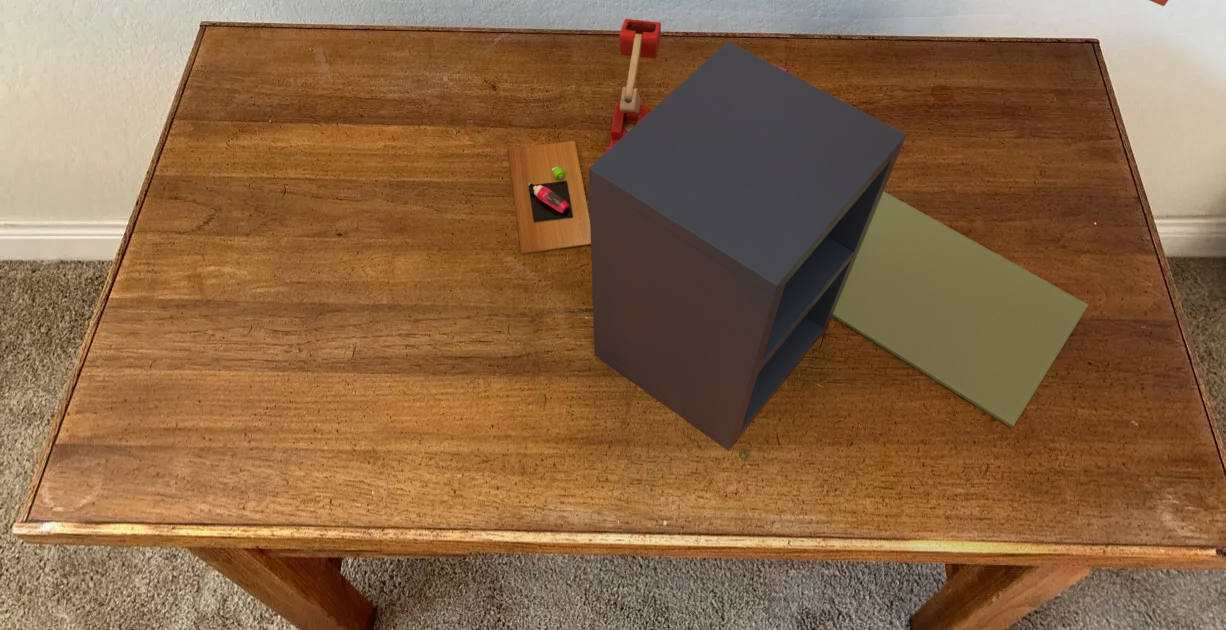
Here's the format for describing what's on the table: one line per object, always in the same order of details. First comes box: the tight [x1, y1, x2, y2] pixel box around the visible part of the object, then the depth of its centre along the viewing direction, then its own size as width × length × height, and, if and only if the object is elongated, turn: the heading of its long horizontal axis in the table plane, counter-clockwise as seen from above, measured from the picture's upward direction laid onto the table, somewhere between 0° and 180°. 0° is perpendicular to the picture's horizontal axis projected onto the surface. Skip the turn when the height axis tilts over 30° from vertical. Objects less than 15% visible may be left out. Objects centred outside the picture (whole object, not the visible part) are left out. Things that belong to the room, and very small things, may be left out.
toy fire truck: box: [604, 18, 662, 154], centre depth 76 cm, size 3×14×10 cm, turn 171°
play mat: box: [832, 190, 1089, 429], centre depth 71 cm, size 20×14×1 cm
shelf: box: [588, 40, 907, 452], centre depth 60 cm, size 13×14×22 cm
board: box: [507, 140, 591, 255], centre depth 76 cm, size 6×12×2 cm, turn 9°
